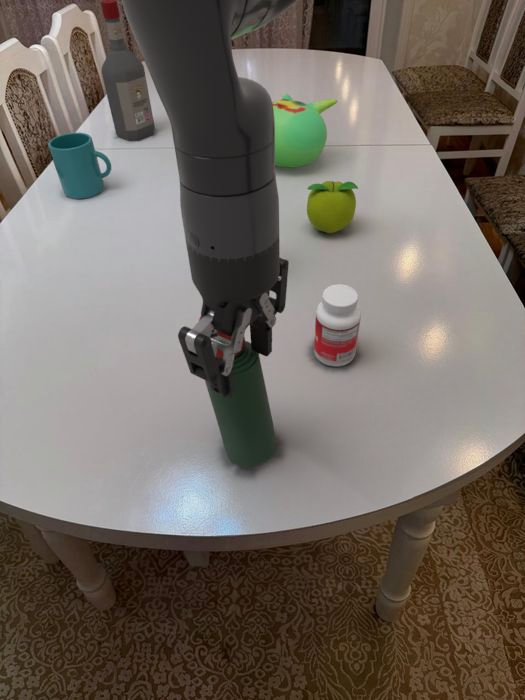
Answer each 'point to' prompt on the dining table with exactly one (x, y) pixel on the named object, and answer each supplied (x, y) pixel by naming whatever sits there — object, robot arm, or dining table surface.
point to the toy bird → (299, 131)
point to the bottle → (246, 413)
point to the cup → (78, 165)
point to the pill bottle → (337, 325)
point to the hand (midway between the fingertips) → (243, 371)
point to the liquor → (125, 82)
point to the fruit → (331, 205)
